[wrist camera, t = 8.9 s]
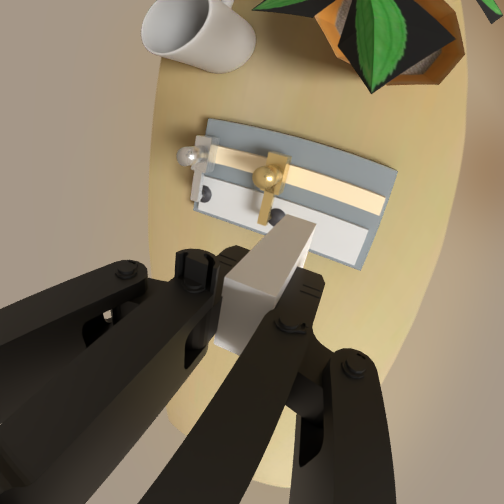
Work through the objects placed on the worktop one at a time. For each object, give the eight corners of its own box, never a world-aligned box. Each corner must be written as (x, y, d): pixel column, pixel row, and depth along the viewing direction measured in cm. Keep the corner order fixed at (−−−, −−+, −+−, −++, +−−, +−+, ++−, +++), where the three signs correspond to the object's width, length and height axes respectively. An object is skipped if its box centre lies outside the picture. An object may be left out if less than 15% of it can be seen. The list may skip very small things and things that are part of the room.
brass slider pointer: (274, 151, 28) (257, 153, 23) (292, 156, 27) (278, 159, 23) (259, 216, 31) (240, 230, 27) (275, 222, 31) (259, 237, 26)
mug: (243, 80, 29) (193, 60, 19) (188, 68, 30) (129, 54, 21) (275, 1, 23) (238, -42, 13) (216, -5, 24) (168, -37, 15)
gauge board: (216, 119, 32) (204, 118, 29) (395, 169, 26) (399, 172, 24) (201, 206, 37) (189, 212, 35) (360, 263, 32) (360, 274, 29)
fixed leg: (205, 135, 30) (179, 136, 26) (220, 138, 29) (195, 139, 25) (195, 195, 33) (170, 205, 29) (209, 199, 33) (185, 210, 29)
